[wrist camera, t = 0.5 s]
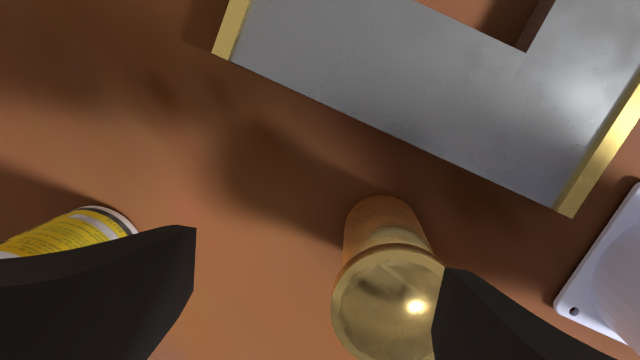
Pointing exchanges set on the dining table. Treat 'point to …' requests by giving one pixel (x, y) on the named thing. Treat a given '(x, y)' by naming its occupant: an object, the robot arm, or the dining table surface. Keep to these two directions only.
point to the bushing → (386, 283)
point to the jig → (462, 81)
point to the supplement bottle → (69, 232)
